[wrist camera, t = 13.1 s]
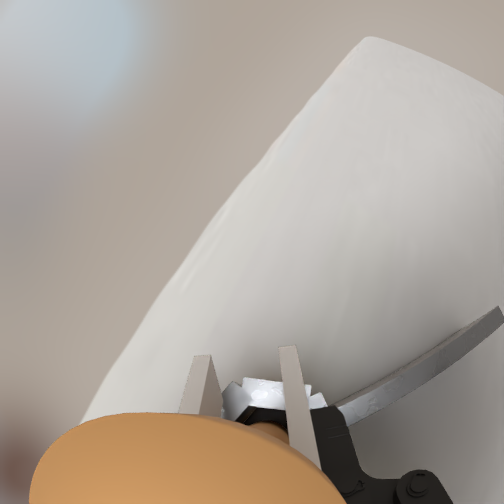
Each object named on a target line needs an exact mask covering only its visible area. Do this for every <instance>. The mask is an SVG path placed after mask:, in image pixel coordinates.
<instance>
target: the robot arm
mask: <svg viewBox="0 0 504 504" xmlns="http://www.w3.org/2000/svg"><path fill="white" fill-rule="evenodd" d="M278 350H279V358H280V366H281V374H282V382H283V391H284V399H285V408H286V416H287V425H288V433H289V442H290V446H291V447H293V448H294V449H296V450H298V451H299V452H300V453H301V454H303V455H304V456H305V457H307V458H308V459H309V460H311V461H312V462H313V463H314V464H315V465H316V466H317V467H318V468H319V469H320V470H321V471H322V472H323V473H324V474H325V475H326V476H327V477H328V478H329V479H330V481H331V482H332V483H333V484H334V486H335V487H336V488H337V490H338V491H339V493H340V494H341V496H342V497H343V499H344V500H345V502H346V503H347V504H453V502H452V501H451V499H450V497H449V496H448V494H447V492H446V491H445V489H444V487H443V486H442V484H441V483H440V481H439V479H438V478H437V477H436V476H435V475H434V474H433V473H432V472H430V471H427V470H414V471H410V472H408V473H407V474H405V475H403V476H402V477H401V479H376V478H373V477H370V476H368V475H367V474H365V473H364V472H363V471H362V470H361V467H360V465H359V462H358V459H357V456H356V452H355V449H354V446H353V443H352V439H351V436H350V434H349V430H348V427H347V424H346V420H345V417H344V414H343V413H342V412H341V411H340V410H339V409H338V408H337V407H336V406H335V405H333V406H327V407H322V408H316V409H310V410H309V405H308V400H307V395H306V391H305V386H304V381H303V376H302V372H301V367H300V362H299V357H298V353H297V348H296V345H291V346H284V347H278ZM222 403H223V398H222V394H221V391H220V387H219V383H218V380H217V376H216V372H215V369H214V365H213V361H212V357H211V355H203V356H194V359H193V362H192V366H191V369H190V373H189V376H188V380H187V383H186V387H185V390H184V394H183V397H182V401H181V405H180V408H179V412H178V413H180V414H199V415H205V416H212V417H219V418H221V412H222Z"/></svg>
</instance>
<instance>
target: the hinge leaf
mask: <svg viewBox="0 0 504 504" xmlns="http://www.w3.org/2000/svg"><path fill="white" fill-rule="evenodd" d="M503 323H504V316H503V314H502V312H501V310H500V308H499V306H497V307H496V308H494V309H493V310H491V311H490V312H488V313H487V314H485V315H484V316H482V317H480V318H479V319H477V320H476V321H474V322H473V323H471V324H469V325H468V326H466V327H464V328H463V329H461V330H459V331H458V332H456V333H455V334H454V335H452V336H451V337H449V338H448V339H446V340H445V341H444V342H442V343H441V344H439V345H438V346H436V347H435V348H433V349H432V350H430V351H428V352H427V353H425V354H424V355H422V356H421V357H419V358H417V359H416V360H414V361H413V362H411V363H409V364H408V365H406V366H404V367H403V368H401V369H399V370H397V371H396V372H394V373H392V374H390V375H389V376H387V377H385V378H383V379H382V380H380V381H378V382H376V383H374V384H372V385H370V386H369V387H367V388H365V389H363V390H361V391H359V392H357V393H355V394H353V395H351V396H349V397H347V398H345V399H343V400H341V401H339V402H336V403H334V404H332V405H330V406H333V405H335V406H336V407H337V408H338V409H339V410H340V411H341V412H342V413H343V414H344V417H345V420H346V424H347V427H348V426H350V425H352V424H354V423H356V422H358V421H360V420H362V419H364V418H366V417H368V416H370V415H372V414H373V413H375V412H377V411H379V410H381V409H383V408H384V407H386V406H388V405H390V404H392V403H393V402H395V401H397V400H398V399H400V398H402V397H403V396H405V395H407V394H408V393H410V392H412V391H413V390H415V389H416V388H418V387H420V386H421V385H423V384H424V383H426V382H427V381H429V380H430V379H432V378H433V377H435V376H436V375H438V374H439V373H441V372H442V371H443V370H445V369H446V368H448V367H449V366H451V365H452V364H453V363H455V362H456V361H457V360H459V359H460V358H461V357H463V356H464V355H465V354H467V353H468V352H469V351H471V350H472V349H473V348H474V347H476V346H477V345H478V344H479V343H481V342H482V341H483V340H484V339H485V338H487V337H488V336H489V335H490V334H491V333H493V332H494V331H495V330H496V329H497V328H498V327H500V326H501V325H502V324H503ZM304 386H305V391H306V395H307V400H308V405H309V410H310V409H316V408H322V407H327V404H326V402H325V399H324V397H323V395H322V393H321V392H320V393H317V394H315V395H313V396H310V393H311V385H304ZM221 394H222V398H223V403H222V412H221V418H222V419H226V420H230V421H234V422H240V421H241V420H242V419H243V418H244V417H245V416H246V414H247V413H248V412H249V411H250V410H251V409H252V408H253V406H256V407H263V408H271V409H278V410H286V408H285V399H284V391H283V382H277V381H269V380H261V379H254V378H247V377H243V383H242V386H241V385H239V384H237V383H236V382H234V381H232V382H231V383H230V384H229V385H228V387H227V388H226V389H225V390H224V391H223V392H222V393H221Z"/></svg>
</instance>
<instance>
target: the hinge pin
mask: <svg viewBox="0 0 504 504" xmlns="http://www.w3.org/2000/svg"><path fill="white" fill-rule="evenodd" d="M29 504H347V503H346V502H345V500H344V499H343V497H342V496H341V494H340V493H339V491H338V490H337V488H336V487H335V486H334V484H333V483H332V482H331V481H330V479H329V478H328V477H327V476H326V475H325V474H324V473H323V472H322V471H321V470H320V469H319V468H318V467H317V466H316V465H315V464H314V463H313V462H312V461H311V460H309V459H308V458H307V457H305V456H304V455H303V454H301V453H300V452H299V451H298V450H296V449H294V448H293V447H291V446H290V442H289V433H288V431H287V430H286V428H285V427H284V426H282V425H281V424H280V423H277V422H275V421H271V420H263V421H259V422H256V423H254V424H252V425H250V426H247V425H244V424H241V423H239V422H234V421H230V420H226V419H222V418H219V417H212V416H205V415H199V414H180V413H148V412H146V413H122V414H116V415H110V416H104V417H100V418H97V419H94V420H90V421H87V422H85V423H83V424H81V425H79V426H77V427H74V428H72V429H71V430H69V431H68V432H66V433H65V434H63V435H62V436H61V437H59V438H58V439H57V440H56V441H55V442H54V443H53V444H52V445H51V446H50V447H49V448H48V449H47V451H46V452H45V454H44V455H43V456H42V458H41V460H40V461H39V463H38V466H37V468H36V470H35V472H34V475H33V479H32V483H31V487H30V497H29Z"/></svg>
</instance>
